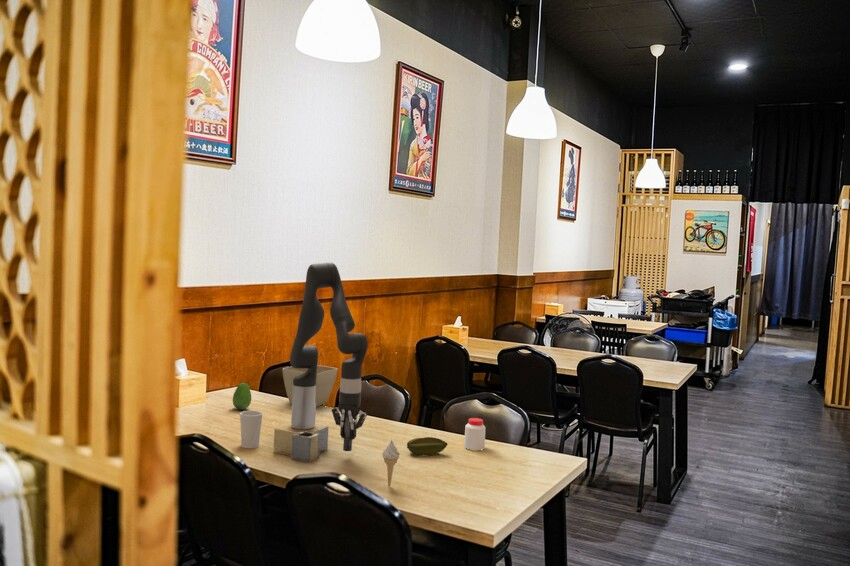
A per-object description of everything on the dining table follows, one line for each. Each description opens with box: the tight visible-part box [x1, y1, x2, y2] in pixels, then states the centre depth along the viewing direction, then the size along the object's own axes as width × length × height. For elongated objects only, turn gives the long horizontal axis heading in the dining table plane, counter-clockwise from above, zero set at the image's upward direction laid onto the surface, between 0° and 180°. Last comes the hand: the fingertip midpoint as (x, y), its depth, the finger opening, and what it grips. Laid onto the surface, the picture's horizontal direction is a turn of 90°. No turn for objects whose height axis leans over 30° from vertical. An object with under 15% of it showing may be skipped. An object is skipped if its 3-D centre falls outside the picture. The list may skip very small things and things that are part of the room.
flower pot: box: [282, 364, 338, 408], centre depth 326 cm, size 19×19×17 cm
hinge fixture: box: [273, 425, 329, 463], centre depth 251 cm, size 17×17×8 cm
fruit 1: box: [232, 382, 252, 411], centre depth 309 cm, size 8×8×12 cm
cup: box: [239, 410, 263, 449], centre depth 256 cm, size 8×8×12 cm
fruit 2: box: [406, 436, 449, 456], centre depth 257 cm, size 11×12×7 cm
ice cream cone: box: [381, 439, 401, 487], centre depth 220 cm, size 6×6×15 cm
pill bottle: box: [463, 417, 486, 450], centre depth 268 cm, size 8×8×11 cm
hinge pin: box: [342, 417, 353, 452], centre depth 247 cm, size 3×3×12 cm
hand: (347, 438), depth 247 cm, fingers closed on hinge pin, 3 cm apart
